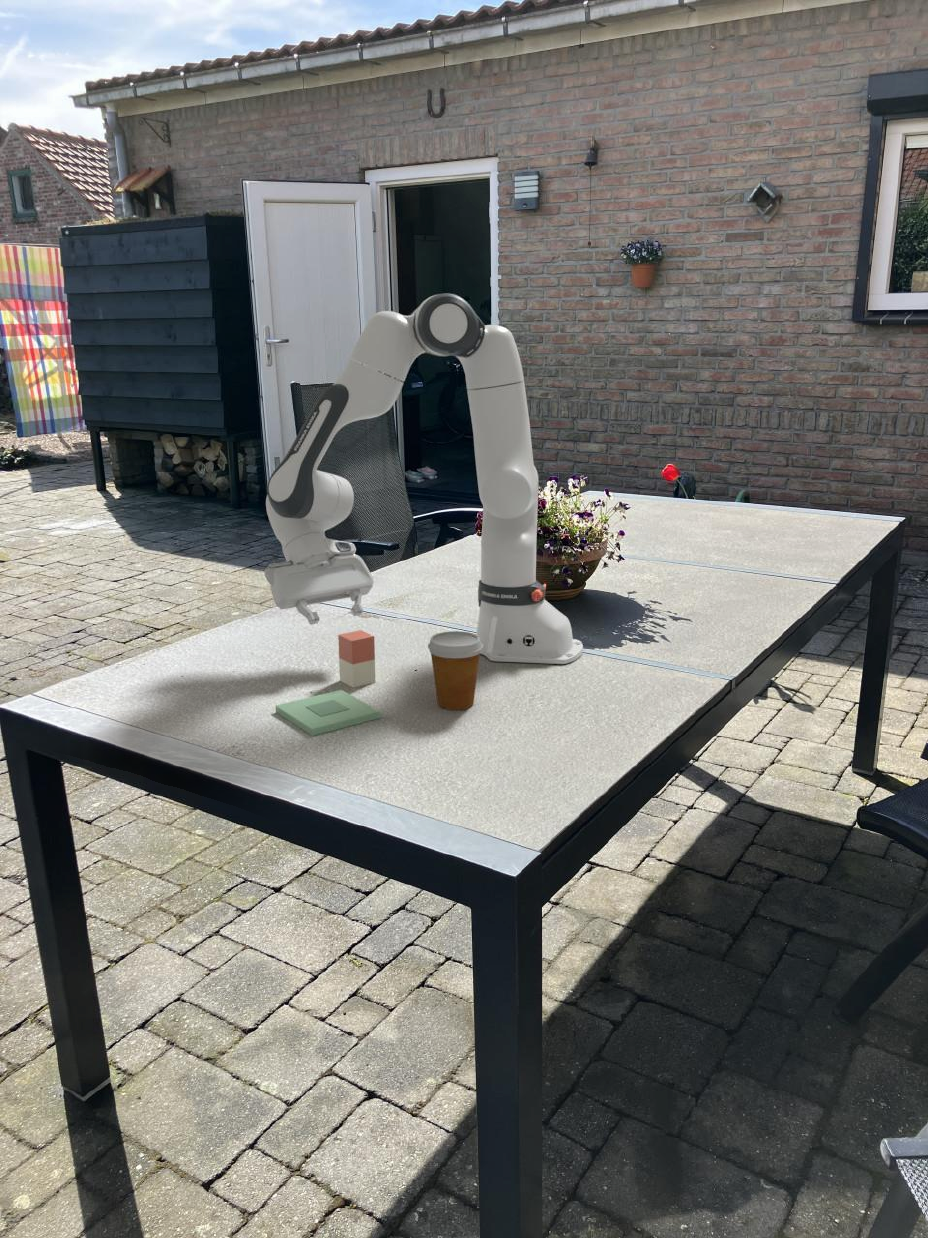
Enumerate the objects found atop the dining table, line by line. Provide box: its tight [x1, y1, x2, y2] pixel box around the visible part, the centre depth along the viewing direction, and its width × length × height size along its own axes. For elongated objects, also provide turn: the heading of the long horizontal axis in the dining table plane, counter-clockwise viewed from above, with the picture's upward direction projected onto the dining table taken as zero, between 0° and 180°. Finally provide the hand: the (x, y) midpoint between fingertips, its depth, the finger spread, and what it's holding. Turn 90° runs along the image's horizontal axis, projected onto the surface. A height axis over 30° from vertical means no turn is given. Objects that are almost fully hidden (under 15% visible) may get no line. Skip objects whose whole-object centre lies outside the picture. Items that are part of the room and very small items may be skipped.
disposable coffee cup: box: [427, 630, 483, 711], centre depth 179 cm, size 10×10×12 cm
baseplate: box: [275, 689, 381, 737], centre depth 175 cm, size 13×13×1 cm
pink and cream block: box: [337, 629, 376, 689], centre depth 190 cm, size 5×5×9 cm
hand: (337, 618), depth 193 cm, fingers open, 8 cm apart
